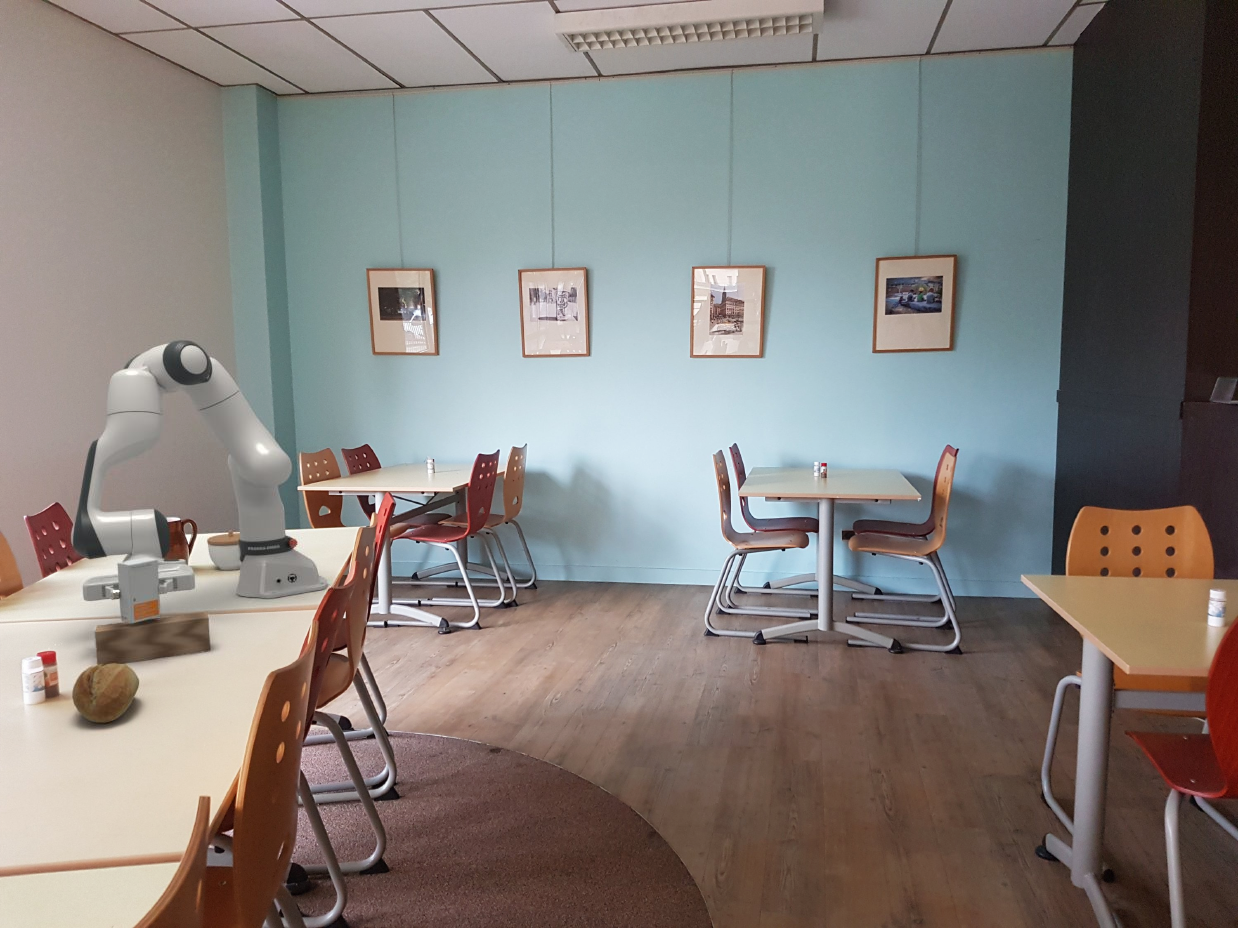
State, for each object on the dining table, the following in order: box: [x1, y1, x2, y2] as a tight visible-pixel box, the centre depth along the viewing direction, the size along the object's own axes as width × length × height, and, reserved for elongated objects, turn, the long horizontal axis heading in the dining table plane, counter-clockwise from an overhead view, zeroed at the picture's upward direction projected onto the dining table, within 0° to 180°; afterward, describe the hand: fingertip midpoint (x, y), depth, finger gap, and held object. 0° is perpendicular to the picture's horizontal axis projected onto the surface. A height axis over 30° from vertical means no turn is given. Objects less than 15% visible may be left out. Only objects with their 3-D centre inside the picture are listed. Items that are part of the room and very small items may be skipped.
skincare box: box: [116, 557, 162, 623], centre depth 169 cm, size 6×4×12 cm
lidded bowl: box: [206, 530, 241, 571], centre depth 249 cm, size 13×13×11 cm
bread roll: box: [71, 663, 140, 724], centre depth 143 cm, size 10×15×8 cm, turn 27°
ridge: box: [94, 611, 211, 666], centre depth 171 cm, size 20×5×7 cm, turn 118°
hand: (139, 592), depth 169 cm, fingers closed on skincare box, 7 cm apart
